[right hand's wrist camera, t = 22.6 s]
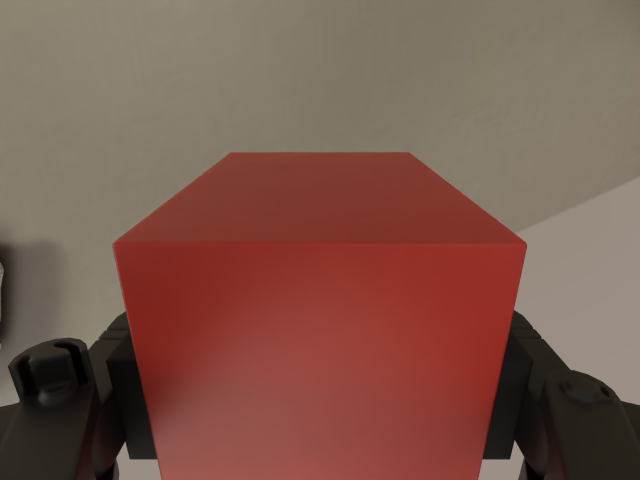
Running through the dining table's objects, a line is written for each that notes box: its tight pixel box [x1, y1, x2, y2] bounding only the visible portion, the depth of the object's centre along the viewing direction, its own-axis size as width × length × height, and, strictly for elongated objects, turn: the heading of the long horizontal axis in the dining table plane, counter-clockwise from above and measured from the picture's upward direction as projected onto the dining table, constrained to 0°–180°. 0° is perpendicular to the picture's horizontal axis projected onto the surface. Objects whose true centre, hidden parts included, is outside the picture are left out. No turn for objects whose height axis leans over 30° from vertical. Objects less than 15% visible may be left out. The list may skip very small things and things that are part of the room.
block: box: [113, 153, 527, 480], centre depth 12 cm, size 8×7×9 cm
